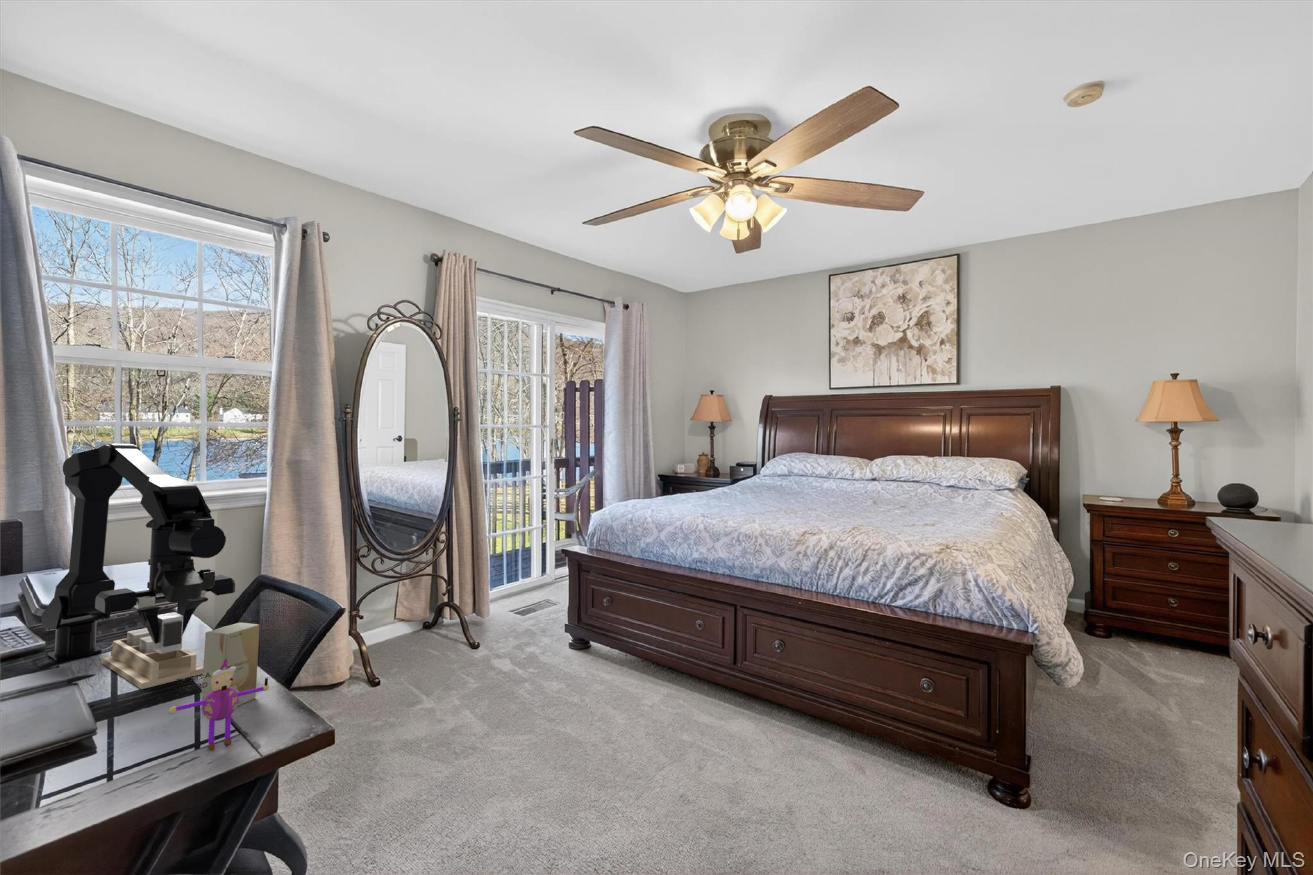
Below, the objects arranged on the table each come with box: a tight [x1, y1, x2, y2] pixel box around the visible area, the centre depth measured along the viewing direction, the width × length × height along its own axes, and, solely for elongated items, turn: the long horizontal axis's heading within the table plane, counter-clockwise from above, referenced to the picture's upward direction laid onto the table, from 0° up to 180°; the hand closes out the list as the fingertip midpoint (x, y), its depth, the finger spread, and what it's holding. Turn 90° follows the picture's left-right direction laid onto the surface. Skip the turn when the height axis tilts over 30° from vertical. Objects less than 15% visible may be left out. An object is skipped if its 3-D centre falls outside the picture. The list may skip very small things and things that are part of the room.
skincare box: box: [200, 622, 260, 711], centre depth 94 cm, size 6×4×12 cm
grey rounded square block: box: [153, 611, 184, 654], centre depth 105 cm, size 4×3×6 cm, turn 57°
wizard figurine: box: [168, 658, 270, 751], centre depth 81 cm, size 11×3×12 cm, turn 136°
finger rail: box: [101, 627, 203, 690], centre depth 109 cm, size 21×9×6 cm, turn 57°
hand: (167, 640), depth 105 cm, fingers closed on grey rounded square block, 3 cm apart
